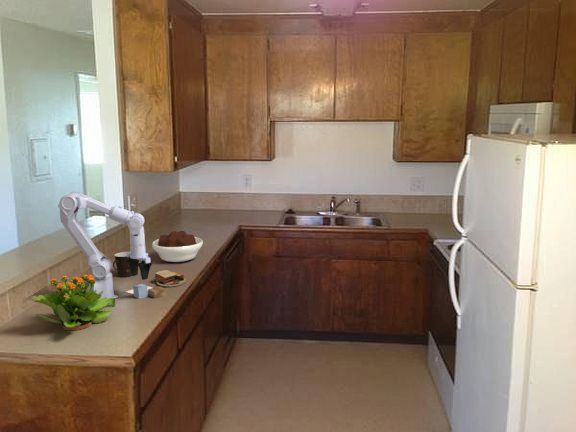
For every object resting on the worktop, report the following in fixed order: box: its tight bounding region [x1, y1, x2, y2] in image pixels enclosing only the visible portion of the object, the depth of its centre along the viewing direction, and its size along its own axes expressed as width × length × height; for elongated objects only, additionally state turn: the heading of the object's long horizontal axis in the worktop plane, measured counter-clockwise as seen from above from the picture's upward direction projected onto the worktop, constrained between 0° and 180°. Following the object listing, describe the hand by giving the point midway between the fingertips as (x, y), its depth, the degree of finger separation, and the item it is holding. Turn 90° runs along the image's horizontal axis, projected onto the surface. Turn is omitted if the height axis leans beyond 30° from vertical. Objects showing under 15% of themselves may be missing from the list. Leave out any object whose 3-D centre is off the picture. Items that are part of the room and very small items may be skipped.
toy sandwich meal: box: [153, 269, 187, 288], centre depth 230 cm, size 12×14×5 cm
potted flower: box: [31, 274, 116, 331], centre depth 181 cm, size 25×24×18 cm
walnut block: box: [148, 286, 167, 300], centre depth 214 cm, size 5×5×3 cm
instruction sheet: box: [125, 285, 153, 295], centre depth 221 cm, size 10×7×1 cm
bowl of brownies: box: [151, 230, 204, 263], centre depth 266 cm, size 25×25×15 cm
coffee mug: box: [112, 251, 133, 279], centre depth 240 cm, size 12×9×10 cm
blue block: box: [132, 283, 149, 300], centre depth 213 cm, size 4×4×4 cm
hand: (139, 277), depth 212 cm, fingers open, 7 cm apart
